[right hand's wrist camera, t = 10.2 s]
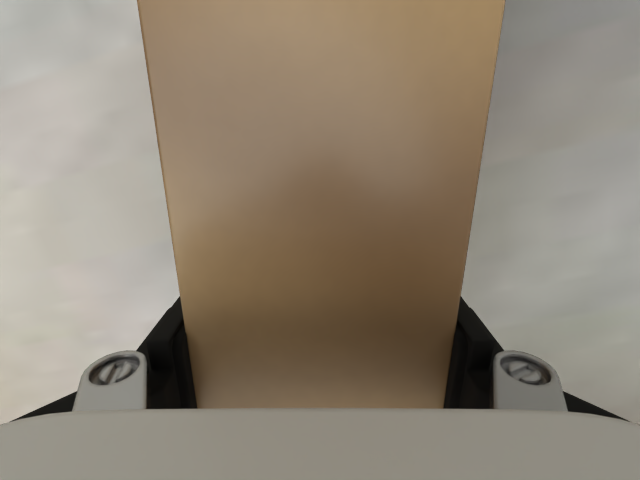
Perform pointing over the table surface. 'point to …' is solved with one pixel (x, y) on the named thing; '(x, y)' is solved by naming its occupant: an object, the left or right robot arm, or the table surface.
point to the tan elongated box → (320, 190)
